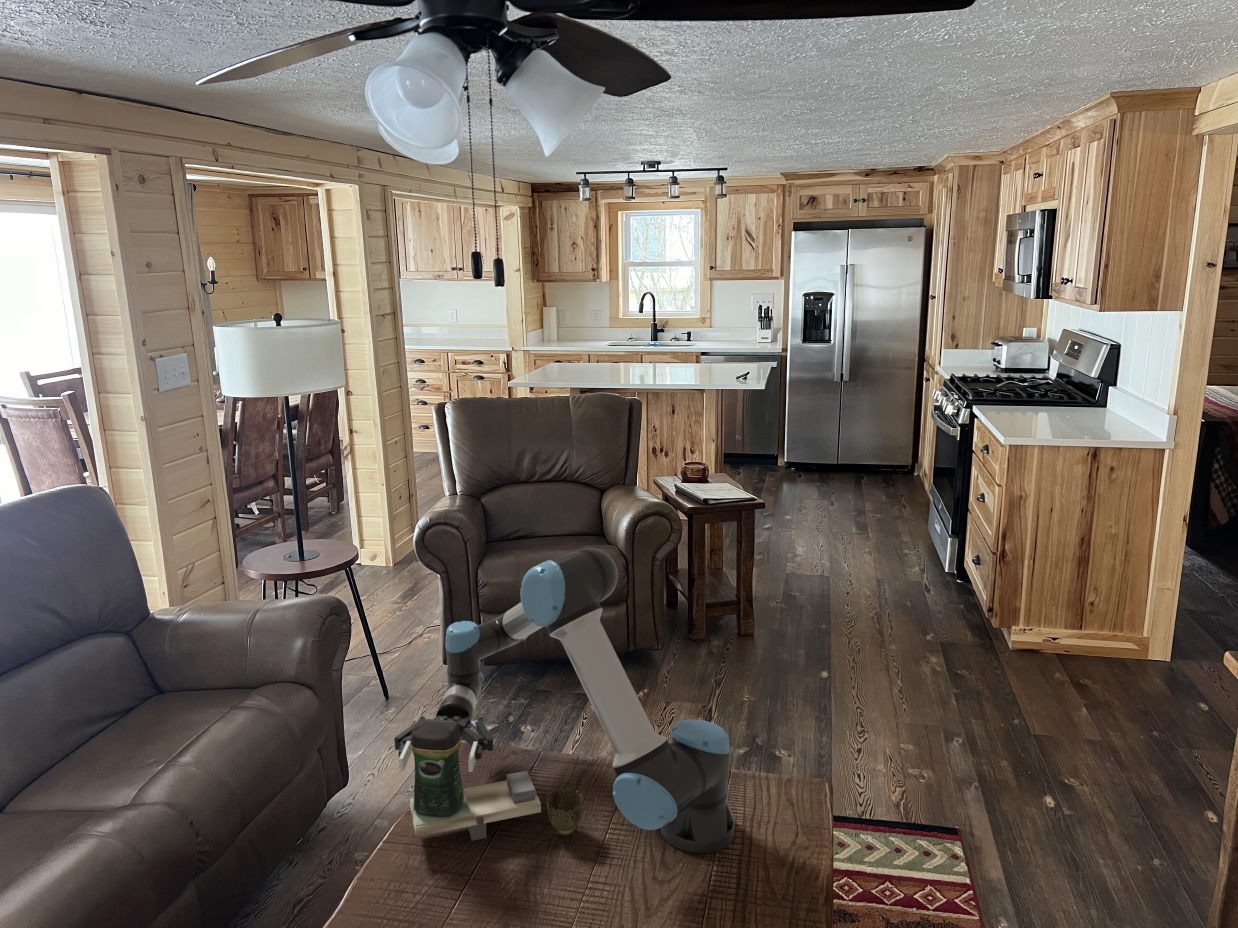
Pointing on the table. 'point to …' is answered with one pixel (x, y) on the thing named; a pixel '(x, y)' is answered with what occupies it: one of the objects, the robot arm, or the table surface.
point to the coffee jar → (437, 767)
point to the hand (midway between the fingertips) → (435, 765)
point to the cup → (564, 810)
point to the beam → (484, 805)
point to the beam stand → (477, 831)
